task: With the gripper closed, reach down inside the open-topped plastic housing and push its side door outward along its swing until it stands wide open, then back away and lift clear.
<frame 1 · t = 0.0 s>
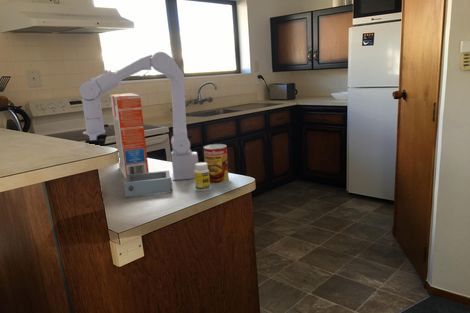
hand: (99, 157, 129), 10 cm above the counter, fingers open, 7 cm apart
pasta box: (133, 172, 147), on the counter
door: (148, 187, 117), point 3 cm above the counter, hinge at 0.0°
canned food: (217, 180, 130), on the counter
housing: (149, 189, 124), on the counter
supplement bottle: (203, 189, 121), on the counter
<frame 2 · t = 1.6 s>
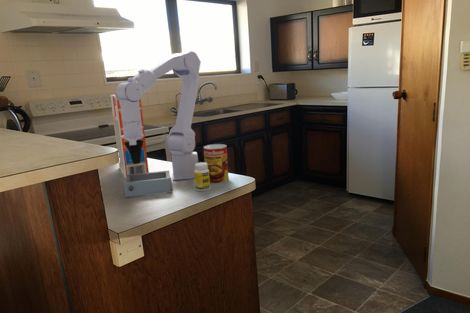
hand: (136, 163, 121), 9 cm above the counter, fingers closed
nothing on the counter moved.
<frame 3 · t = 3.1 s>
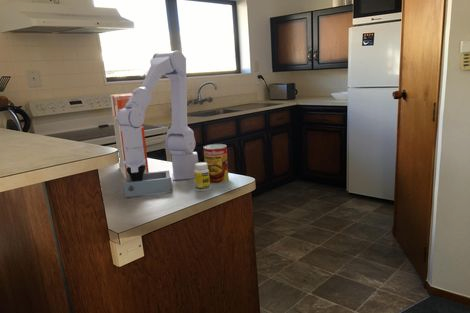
hand: (138, 189, 119), 2 cm above the counter, fingers closed
door: (148, 187, 117), point 3 cm above the counter, hinge at 0.5°, touching gripper
everything else where it was.
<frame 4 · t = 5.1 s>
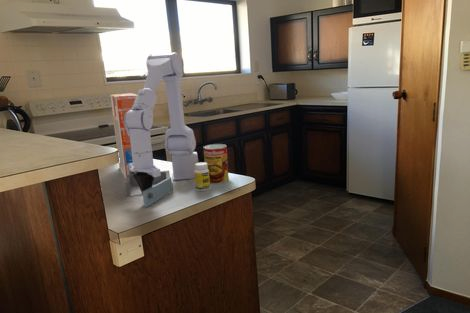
hand: (146, 196, 111), 2 cm above the counter, fingers closed
door: (159, 191, 113), point 3 cm above the counter, hinge at 56.5°, touching gripper
everything else where it was.
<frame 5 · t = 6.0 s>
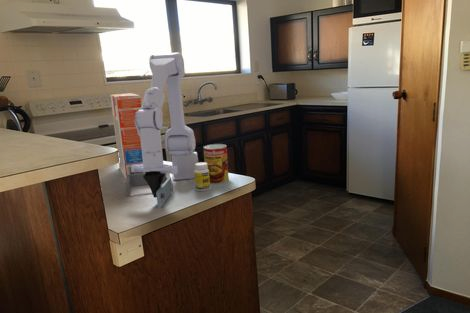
hand: (156, 196, 110), 2 cm above the counter, fingers closed
door: (166, 191, 112), point 3 cm above the counter, hinge at 74.0°, touching gripper
everything else where it was.
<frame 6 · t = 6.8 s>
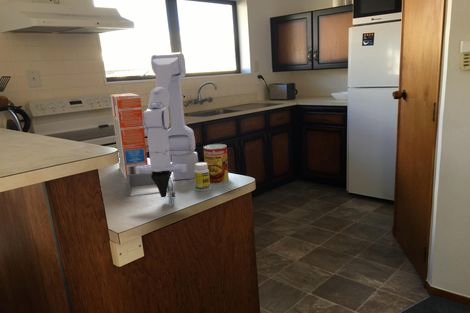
hand: (163, 196, 110), 2 cm above the counter, fingers closed
door: (171, 190, 113), point 3 cm above the counter, hinge at 88.5°, touching gripper
everything else where it was.
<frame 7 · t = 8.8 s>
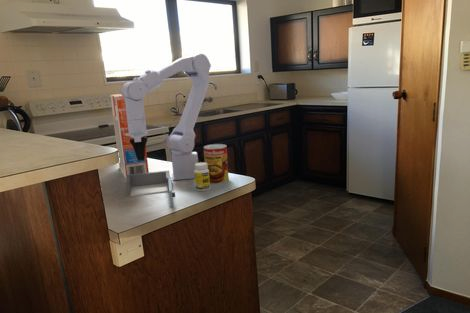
hand: (141, 159, 125), 9 cm above the counter, fingers closed
door: (171, 190, 113), point 3 cm above the counter, hinge at 88.7°
everything else where it was.
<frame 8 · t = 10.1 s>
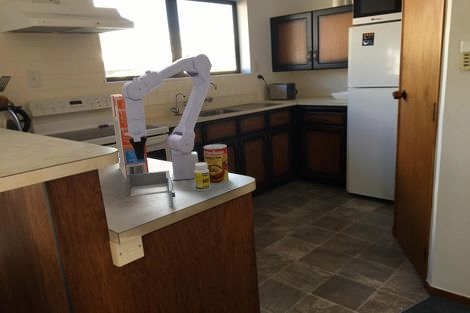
hand: (140, 159, 126), 9 cm above the counter, fingers closed
nothing on the counter moved.
at the end: door at +89° (first picture: +0°); supplement bottle moved 0.2 cm from its start; canned food moved 0.2 cm from its start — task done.
